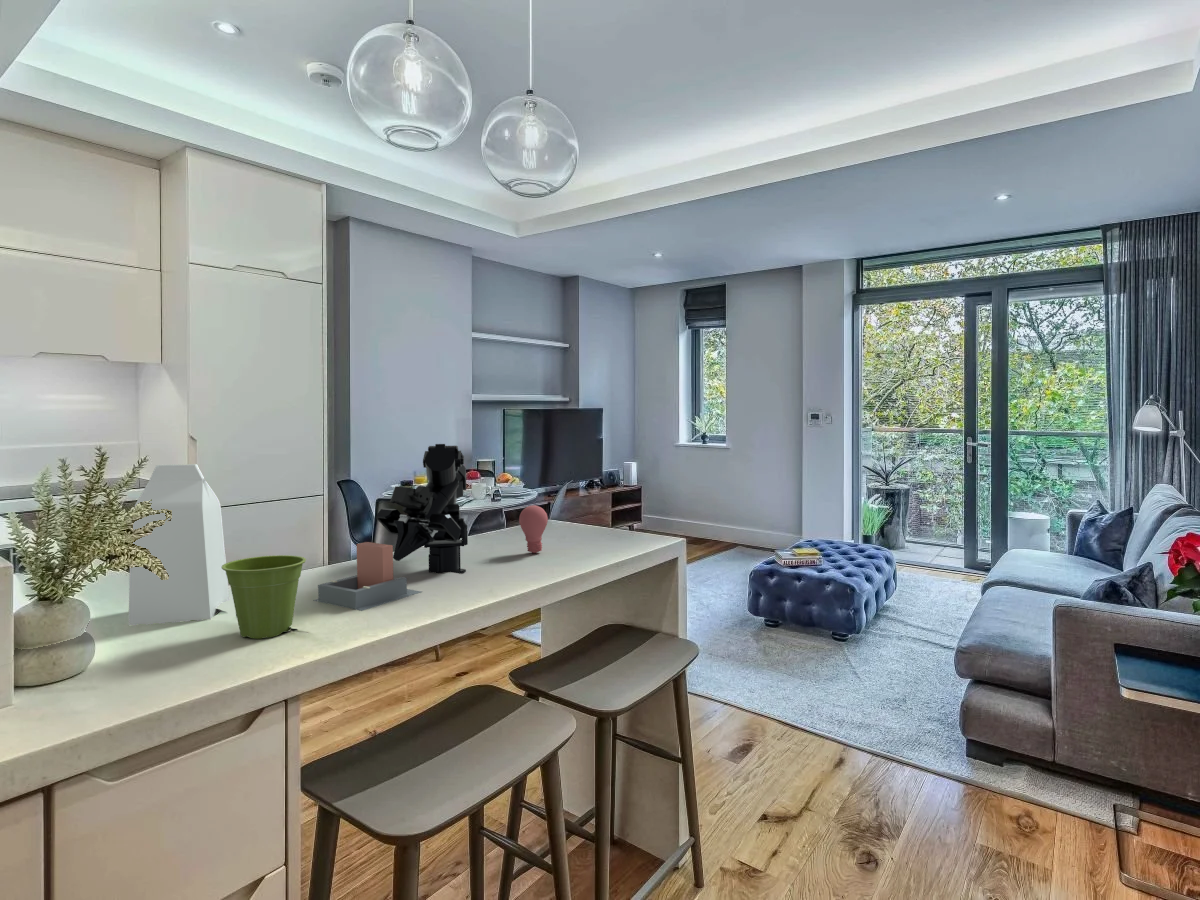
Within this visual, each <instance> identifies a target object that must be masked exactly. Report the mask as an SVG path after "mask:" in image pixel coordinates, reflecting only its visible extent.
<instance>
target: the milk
mask: <svg viewBox="0 0 1200 900" xmlns="http://www.w3.org/2000/svg"><path fill="white" fill-rule="evenodd" d="M145 485H146V486H145V487H144V488H143V490H142V492H141V494H140V496H139V497H138V499H137V501H136V503H135V504H134V506H136V505H137V504H138V503H140V502H143V501H149V500H151V499H152V501H150V502H149V503H152V504H151V506H150V507H151V508H152V509H153V510H161V509H168V510H172V519H171V521H169V522H167V521H168V520H170V518H168V519H167V520H166V521H165V524H164V525H162V526H160V527H156V528H155V529H153V531H152V534H151V535H148V536H145V537H142V538H140V539H138V540H136V541H135V542H133V544H135V545H137V546H141V547H143V548H146V549H149V551H150V553H151V555H153V556H155V557H157V558H158V559H160V560H161V562H162V564H163V566H164V568H165V569H166V571H167V573H168V575H169V579H168V580H161V579H160V578H161V577H160V578H159V577H158V576H157V575H156V574H154V573H152V572H151V571H149V570H148V569H145V568H143V567H133V568H130V567H129V578H128V579H129V580H128V581H129V583H128V584H129V588H128V591H129V592H128V626H129V625H133V626H140V625H139V624H146V625H154V624H153V623H159V624H166V623H165V622H172V623H181V622H180V621H185V622H191V621H190V620H197V621H203V620H202V619H210V620H212V619H213V618H214V617H215V616H216V615H217V614H218V613H219V612H220V611H221V609H219V608H218V607H220V605H221V604H222V603H224V602H228V601H230V590H229V588H230V587H229V583H228V579H227V575H226V571H225V570H223V569H222V565H224V564H226V563H227V558H226V549H225V547H226V546H225V537H224V527H223V517H222V516H223V514H222V506H221V502H220V500H219V498H218V496H217V495H216V493H215V491H214V490H213V489H212V487H211V486H210V485H209V483H208V482H207V480H206V479H205V477H204V474H203V473H202V471H201V469H200V468H199V465H198V464H197V463H190V464H189V463H187V464H185V463H184V464H157V465H155V467H154V470H153V471H152V473H151V475H150V478H149V480H148V482H147V484H145ZM159 512H161V511H159ZM166 512H167V511H166ZM169 513H170V512H169ZM165 515H166V514H165V513H160V514H155V515H149V516H147V517H144V518H142V519H139V520H137V521H135V522H134V524H133V529H134V530H135V529H138V528H142V527H143V526H145V525H146V524H147V523H150V522H153V521H158V520H165V519H166V516H165ZM217 612H218V613H217ZM216 613H217V614H216ZM215 614H216V615H215ZM214 615H215V616H214ZM213 616H214V617H213ZM212 617H213V618H212ZM211 618H212V619H211ZM137 624H138V625H137Z"/></svg>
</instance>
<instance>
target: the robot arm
mask: <svg viewBox="0 0 1200 900" xmlns="http://www.w3.org/2000/svg"><path fill="white" fill-rule="evenodd" d="M464 464H465V455H464V453H463V452H462V450H459V446H458V445H446V443H435V444H434V445H428V447H427V450H425V451H424V455H423V458H422V467H423V468H424V469H425V470H426V471H425V472H426V477H427V481H428V482H427V484H426V485H425V486H424V485H418V486H417V487H416V488H415V487H408V486H397V485H396V486H395V487H394V488H393V492H392V495H391V498H390V503H391V504H396V505H398V506H401V507H403V508H401V509H402V511H403V512H404V514H402V513H401V512H400V511H399V510H398V509H397V508H396V509H395V508H387V507H386V508H380V510H379V511H378V512H377V514H376V516H375V519H376V520H377V521H378V523H380V524H381V525H382V526H383V527H384V528H385V529H386V530H387V532H388V533H390V534H391V535H397V539H396V543H395V547H394V550H393V560H394V561H396V562H400V561H402V560H403V559H404V558H406V557H408V556H409V555H410V554H412V553H413V552H415V551H417V550H419V549H420V548H423V547H424V548H425V549H427V548H429V551H428V552H429V554H428V573H433V574H444V573H454V574H462V573H465V572H467V570H466V569H465V568H461V547H465V546H467V545H468V543H469V542H468V539H469V538H468V525H467V523H466V521H465V518H464V517H463V518H462V517H461V515H462V513H461V510H460V504H458V503H457V499H460V498H462V497H464V491H467V471H466V470H467V469H466V467H465V465H464Z"/></svg>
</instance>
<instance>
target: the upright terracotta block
mask: <svg viewBox="0 0 1200 900" xmlns="http://www.w3.org/2000/svg"><path fill="white" fill-rule="evenodd" d="M393 547H394V546H393V545H392V544H385V543H377V542H371V541H364V542H360V543H356V575H357V585H358V589H361V588H363V586H367V587H368V586H372V585H375V584H379V583H382V582H386V581H390V580H393V579H394V558H393V555H394V550H393Z"/></svg>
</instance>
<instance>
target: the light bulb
mask: <svg viewBox="0 0 1200 900" xmlns="http://www.w3.org/2000/svg"><path fill="white" fill-rule="evenodd" d="M548 517H549V516H548V513H547V512H546V511H545V509H544V508H542V507H541V506H538V505H528V506H526V507H525V508H524V509H522V510H521V512H520V514H519V519H518V520H519V521H518V522H519V525H520V527H521V531H522V532H523V534H524V536H525V541H526V542H527V543H526V547H527V552H529V553H532V554H537V553H539V552H542V551H543V550H542V549H543V543H542V539H543V538H542V536H543V534H544V532H545V530H546V528H547V525H548V520H549V519H548Z"/></svg>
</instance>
